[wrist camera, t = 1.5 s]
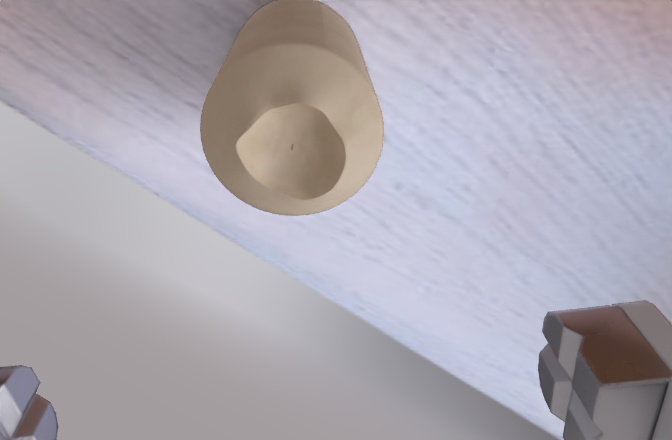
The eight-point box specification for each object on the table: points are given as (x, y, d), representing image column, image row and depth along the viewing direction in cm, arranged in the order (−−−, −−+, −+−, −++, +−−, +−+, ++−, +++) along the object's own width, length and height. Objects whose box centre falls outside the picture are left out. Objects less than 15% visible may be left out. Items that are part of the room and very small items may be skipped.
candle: (218, 97, 24) (169, 207, 16) (256, -27, 22) (222, 22, 13) (332, 139, 25) (344, 261, 17) (381, 26, 23) (424, 102, 14)
